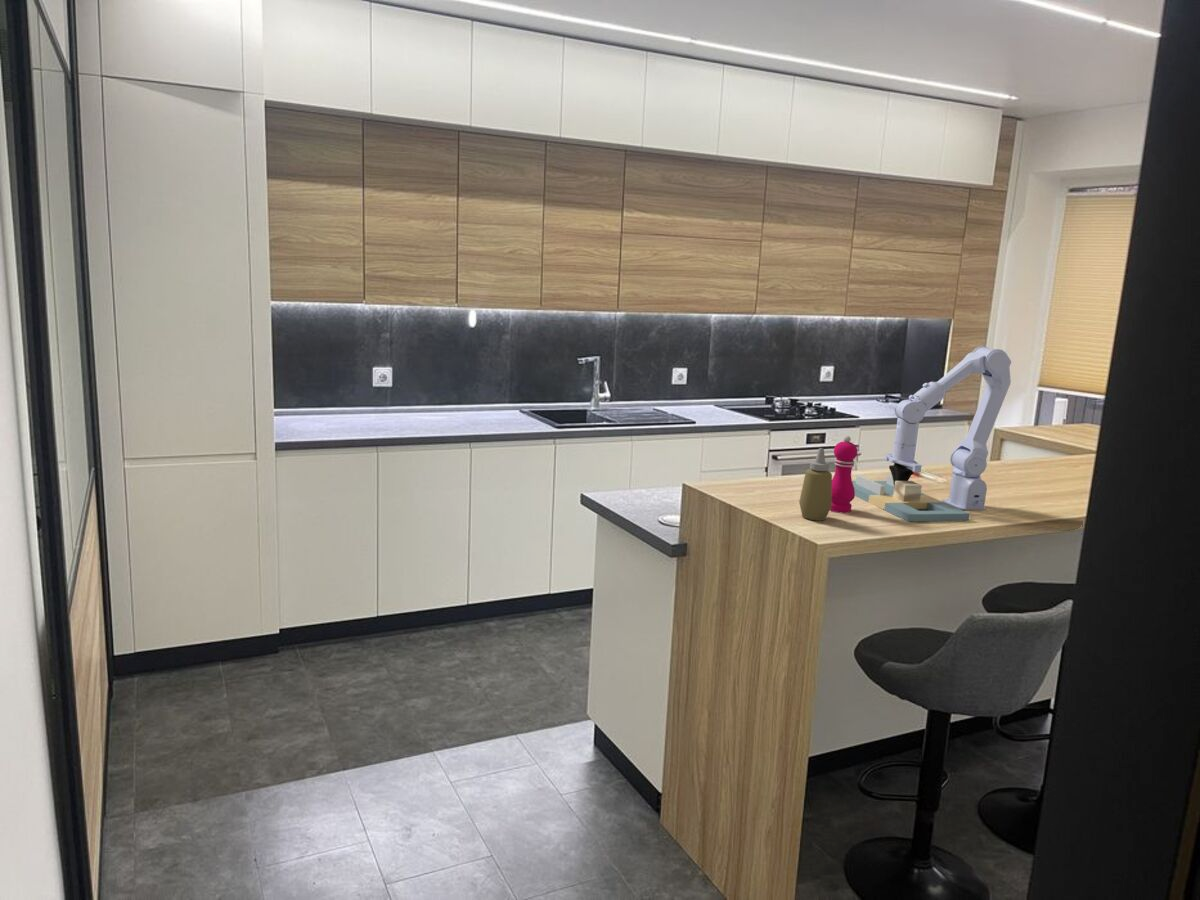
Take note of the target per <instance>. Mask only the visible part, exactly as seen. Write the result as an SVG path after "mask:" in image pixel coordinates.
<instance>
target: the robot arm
mask: <svg viewBox="0 0 1200 900" xmlns="http://www.w3.org/2000/svg"><path fill="white" fill-rule="evenodd" d="M1011 364H1012V360H1011V358H1010V357H1009V356H1008V354H1007V353H1006V351H1004V350H1003V349H999V348H991V347H987V346H978V347H976V348H975V349H973V351H971V352H969V353H967V354H966V356H964V358H963V359H961V361H960V362H959V363H957V364H956V365H955V366H954V367H953V368H952V369H950V370H949V371H948V372H947V373H946V374H944V376H942V377H941V378H940V379H939V380H938V381H930V382H925V383H923V384H922V388H920V389H919V390H917V391H916V392H915V393H914V394H910V395H909V396H908V399H903V400H901V401H900V402H899V403H898V404H897V406H896V408H894V414H895V416H896V418H897V421H896V428H895V436H894V441H893V442H894V443H893V448H892V449H893V450H892V453H885V455H884V461H886V462H890V463H893V465H889V466H888V468H889V471H890V473H891V474H890V475H892V477H893V483H894V486H895V481H910V478H911V476H912V475H913V474H914V473H922V464H920V463H919V462H917V461H916V460H915V457H916V447H917V441H918V433H919V424H920V421H922V420H923V419H924V417H925V414H926V413H927V412H928V411H929V410H931V409H932V408H933V407H934V406H936V405H937V404H938V403H940V402H941V401H942V400H944V399H945V396H946V392H947V391H949V390H950V389H951V388H953V387H954V386H955V385H957V384H958V383H960V382H961V381H962V380H964V379H965V378H967V377H968V376H970V375H972V374H974V375H975V374H981V375H982V377H983V378H984V381H985V383H986V387H985V389H984V392H983V394H982V397H981V399H980V401H979V404H978V407H977V409H976V412H975V414H974V417H973V420H972V422H971V425H970V427H969V429H968V432H967V434H966V437H964V438H963V439H961V440H960V441H959V442H958V445H957V447H956V448H955V449H954V450H953V451H952V452H951V454H950V459H949V460H950V461H949V462H950V464H951V465H952V474H951V481H950V487H949V493H948V494H949V496H948V498H945V499H944V498H943V499H941V501H942V502H944V503H947V504H949V505H951V506H954V507H956V508H958V509H960V510H963V511H966V510H967V511H968V510H969V511H971V510H972V511H973V510H974V511H976V510H978V511H979V510H981V511H982V510H983V511H984V510H987V507H986V506H985V504H986V496H987V490H988V488H987V483H986V482H985V481H984V480H983V479H982V478H981V475H982V474H983V473H984V472H985V470H986V469H987V465H988V463H987V458H988V455H989V451H988V450H989V449H988V447H987V442H988V440H989V438H990V435H991V433H992V431H993V429H994V425H995V422H996V421H997V418H998V415H999V413H1000V411H1001V408H1002V405H1003V403H1004V401H1005V397H1006V395H1007V393H1008V392H1009V388H1010V386H1011V381H1012V380H1011V371H1010V370H1011V369H1010V366H1011Z"/></svg>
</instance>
